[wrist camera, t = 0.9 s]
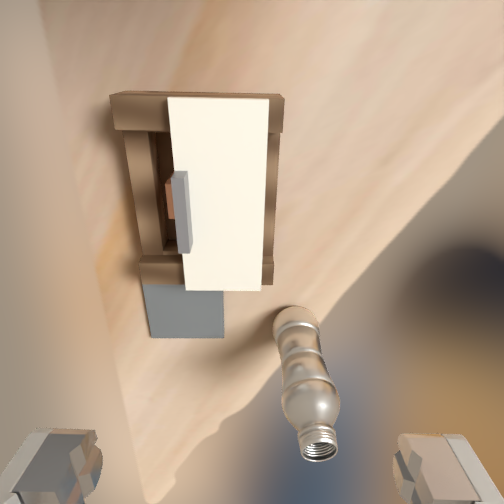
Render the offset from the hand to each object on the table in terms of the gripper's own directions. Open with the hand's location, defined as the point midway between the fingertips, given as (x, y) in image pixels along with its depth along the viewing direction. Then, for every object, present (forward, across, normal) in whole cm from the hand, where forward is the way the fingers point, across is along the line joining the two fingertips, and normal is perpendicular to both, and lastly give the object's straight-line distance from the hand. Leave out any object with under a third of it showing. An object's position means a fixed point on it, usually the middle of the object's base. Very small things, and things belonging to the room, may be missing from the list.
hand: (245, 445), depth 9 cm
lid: (+28, +4, +1) cm, 29 cm away
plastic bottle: (+36, -5, +21) cm, 42 cm away
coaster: (+35, +11, +19) cm, 41 cm away
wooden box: (+34, +6, +1) cm, 34 cm away
